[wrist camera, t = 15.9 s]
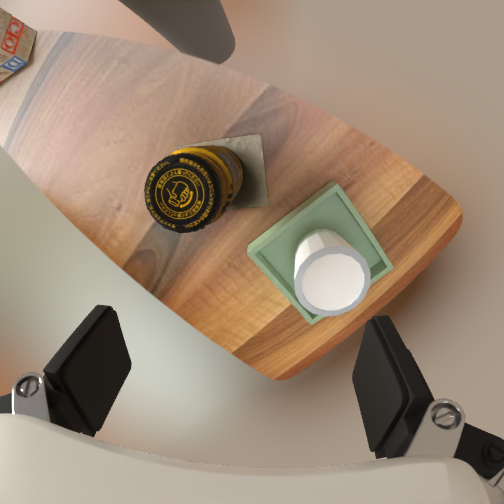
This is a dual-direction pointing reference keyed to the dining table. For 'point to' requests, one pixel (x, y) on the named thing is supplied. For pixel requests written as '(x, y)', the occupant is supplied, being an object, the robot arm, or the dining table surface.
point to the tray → (304, 221)
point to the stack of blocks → (13, 44)
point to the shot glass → (329, 274)
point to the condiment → (206, 182)
